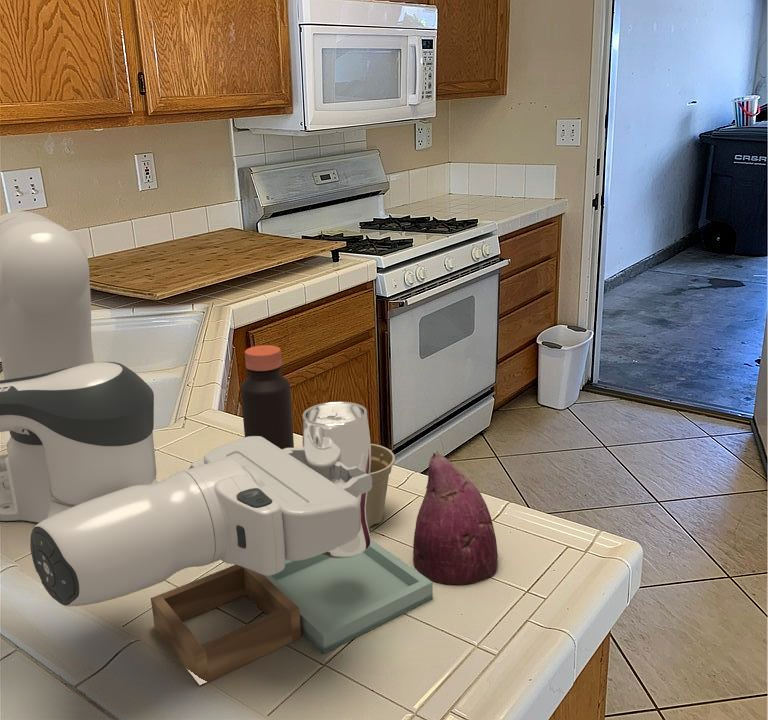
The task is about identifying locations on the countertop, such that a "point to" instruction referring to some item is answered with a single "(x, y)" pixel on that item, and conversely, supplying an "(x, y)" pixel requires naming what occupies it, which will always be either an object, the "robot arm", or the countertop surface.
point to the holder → (234, 645)
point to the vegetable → (453, 529)
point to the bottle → (267, 397)
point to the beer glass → (339, 455)
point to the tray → (350, 593)
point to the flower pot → (378, 483)
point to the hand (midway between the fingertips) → (345, 465)
